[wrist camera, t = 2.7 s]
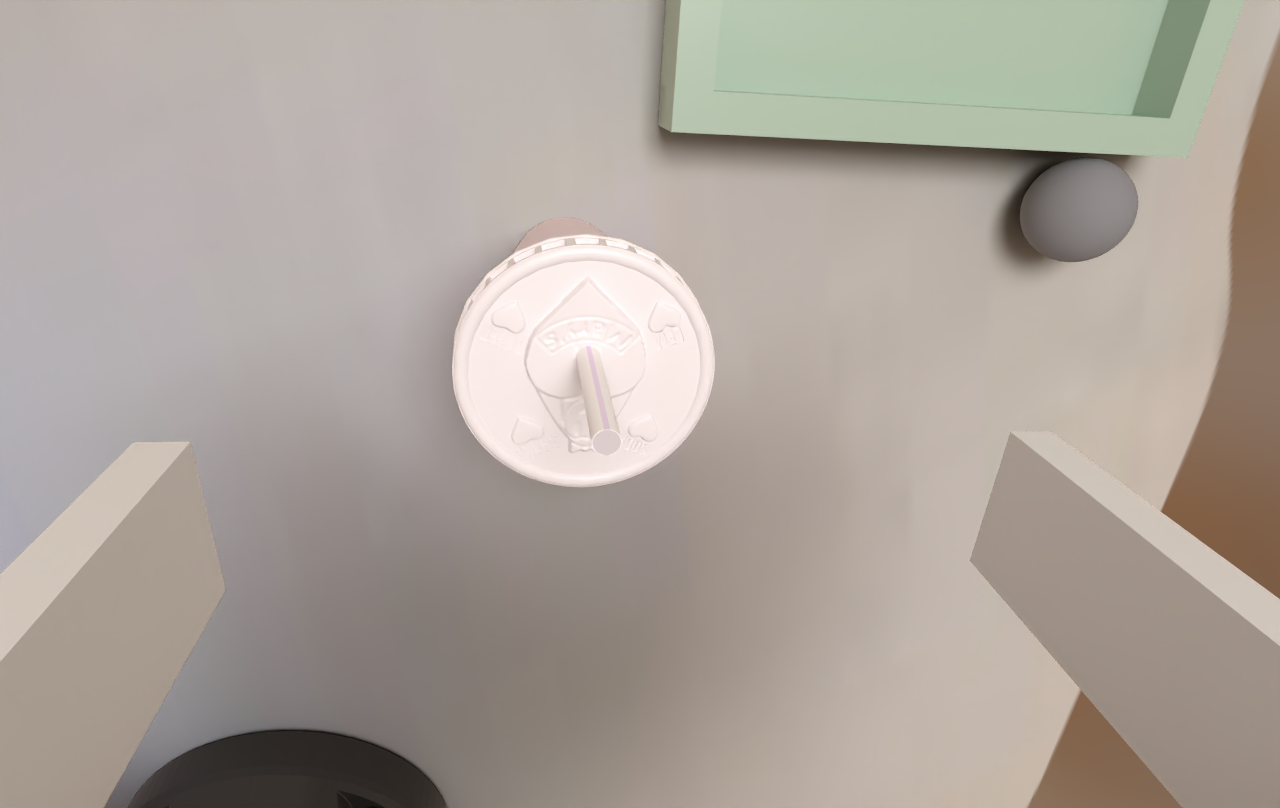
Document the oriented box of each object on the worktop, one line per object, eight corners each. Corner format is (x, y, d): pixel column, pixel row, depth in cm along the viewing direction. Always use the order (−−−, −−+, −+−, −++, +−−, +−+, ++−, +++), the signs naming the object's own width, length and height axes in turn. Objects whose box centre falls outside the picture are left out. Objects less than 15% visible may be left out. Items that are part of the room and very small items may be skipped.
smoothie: (658, 179, 25) (795, 302, 13) (649, 353, 28) (753, 595, 15) (468, 174, 24) (411, 302, 12) (477, 354, 27) (439, 615, 14)
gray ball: (988, 247, 28) (1048, 272, 25) (1014, 149, 26) (1082, 162, 23) (1072, 249, 28) (1142, 274, 25) (1102, 153, 27) (1181, 167, 24)
